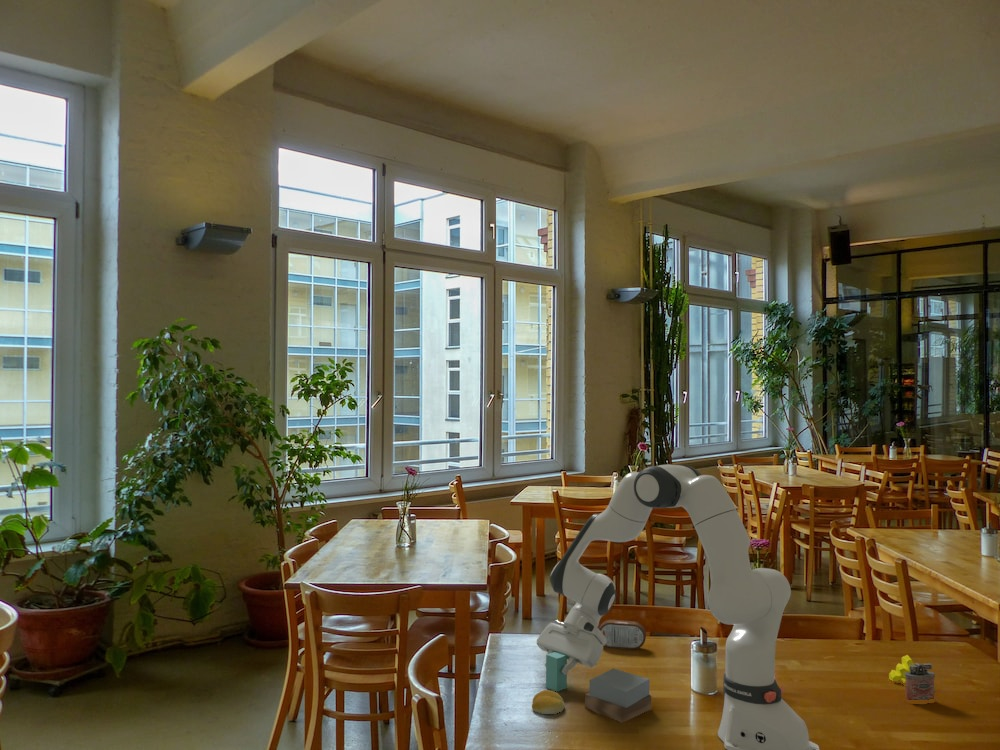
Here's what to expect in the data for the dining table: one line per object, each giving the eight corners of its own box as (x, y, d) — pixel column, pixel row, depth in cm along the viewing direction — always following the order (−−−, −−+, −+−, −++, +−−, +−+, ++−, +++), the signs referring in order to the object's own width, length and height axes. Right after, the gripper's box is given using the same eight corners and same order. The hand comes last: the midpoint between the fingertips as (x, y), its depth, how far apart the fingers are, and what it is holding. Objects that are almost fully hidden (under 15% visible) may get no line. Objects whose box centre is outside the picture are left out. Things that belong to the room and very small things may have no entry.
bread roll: (531, 715, 195) (531, 699, 195) (533, 701, 203) (533, 686, 204) (564, 717, 194) (564, 701, 194) (564, 702, 203) (564, 687, 203)
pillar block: (566, 688, 212) (567, 655, 212) (556, 692, 209) (557, 658, 209) (555, 684, 215) (556, 651, 215) (545, 687, 212) (546, 654, 212)
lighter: (910, 705, 203) (910, 666, 203) (901, 700, 206) (902, 662, 207) (938, 703, 204) (938, 665, 205) (929, 698, 208) (929, 661, 208)
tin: (645, 647, 246) (646, 621, 246) (646, 651, 243) (646, 624, 243) (598, 644, 249) (598, 618, 249) (597, 647, 246) (597, 621, 246)
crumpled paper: (884, 679, 222) (884, 651, 222) (910, 677, 223) (910, 650, 223) (897, 686, 216) (897, 658, 216) (923, 685, 217) (923, 657, 217)
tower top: (649, 694, 199) (649, 679, 199) (626, 707, 191) (626, 691, 191) (613, 683, 206) (613, 668, 206) (589, 695, 198) (589, 680, 198)
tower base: (651, 711, 199) (651, 695, 199) (622, 725, 190) (622, 708, 190) (614, 697, 207) (614, 682, 207) (584, 709, 199) (585, 694, 199)
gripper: (547, 612, 225) (522, 654, 218) (601, 629, 210) (577, 674, 203) (557, 625, 228) (533, 666, 221) (612, 642, 213) (588, 687, 206)
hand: (554, 670), depth 212 cm, fingers closed on pillar block, 4 cm apart
